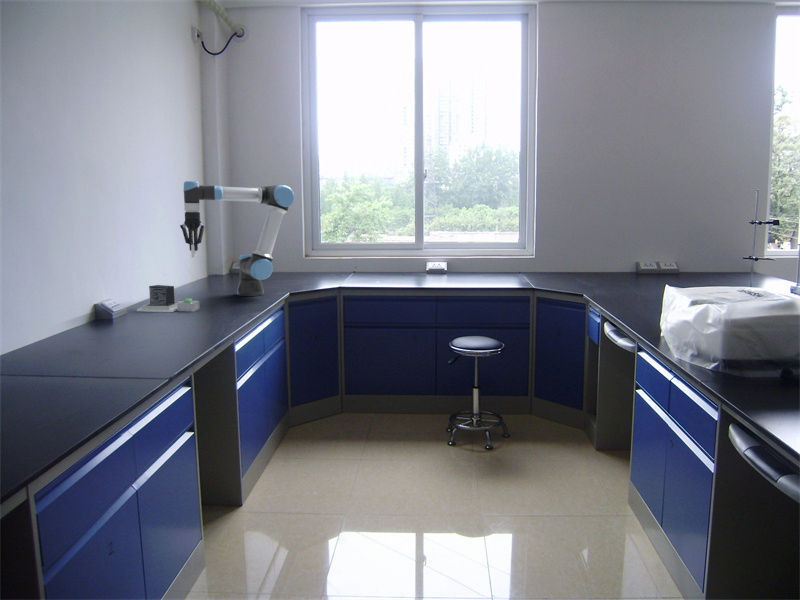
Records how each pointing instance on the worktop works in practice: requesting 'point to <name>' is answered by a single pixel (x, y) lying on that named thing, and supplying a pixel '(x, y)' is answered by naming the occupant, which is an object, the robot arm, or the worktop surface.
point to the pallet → (159, 308)
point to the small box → (161, 295)
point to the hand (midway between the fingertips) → (194, 256)
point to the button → (187, 300)
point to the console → (188, 306)
